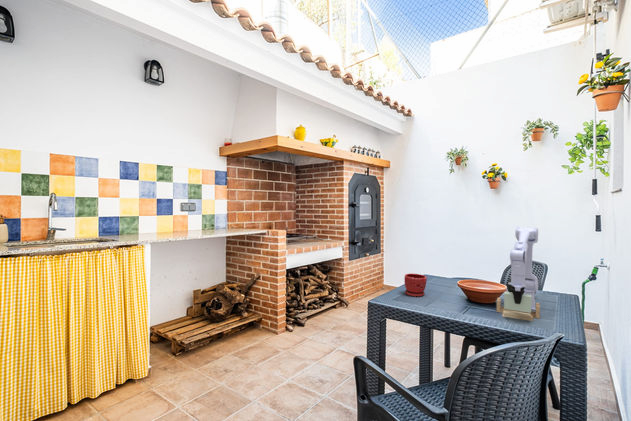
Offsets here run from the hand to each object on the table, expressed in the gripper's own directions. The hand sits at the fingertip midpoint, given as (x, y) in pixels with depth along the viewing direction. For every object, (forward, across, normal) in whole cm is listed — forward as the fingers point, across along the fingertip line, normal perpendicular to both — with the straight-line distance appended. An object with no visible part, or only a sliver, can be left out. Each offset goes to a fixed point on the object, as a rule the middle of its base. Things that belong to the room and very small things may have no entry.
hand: (517, 302), depth 158 cm
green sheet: (+3, 0, 0) cm, 3 cm away
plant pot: (+9, -18, -54) cm, 57 cm away
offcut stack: (+9, -4, 0) cm, 10 cm away
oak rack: (+8, -12, 0) cm, 14 cm away
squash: (+9, -50, +1) cm, 51 cm away
